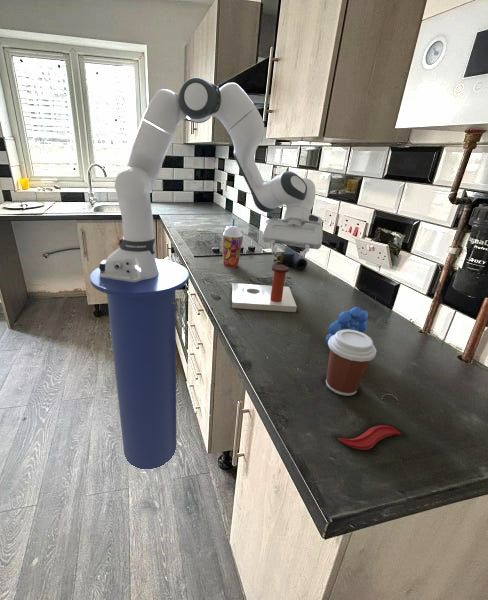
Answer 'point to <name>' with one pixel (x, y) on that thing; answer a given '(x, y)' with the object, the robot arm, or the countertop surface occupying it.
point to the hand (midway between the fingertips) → (287, 255)
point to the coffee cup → (348, 360)
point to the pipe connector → (290, 259)
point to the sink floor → (261, 298)
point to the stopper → (278, 282)
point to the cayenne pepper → (370, 437)
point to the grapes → (349, 322)
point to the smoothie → (232, 245)
